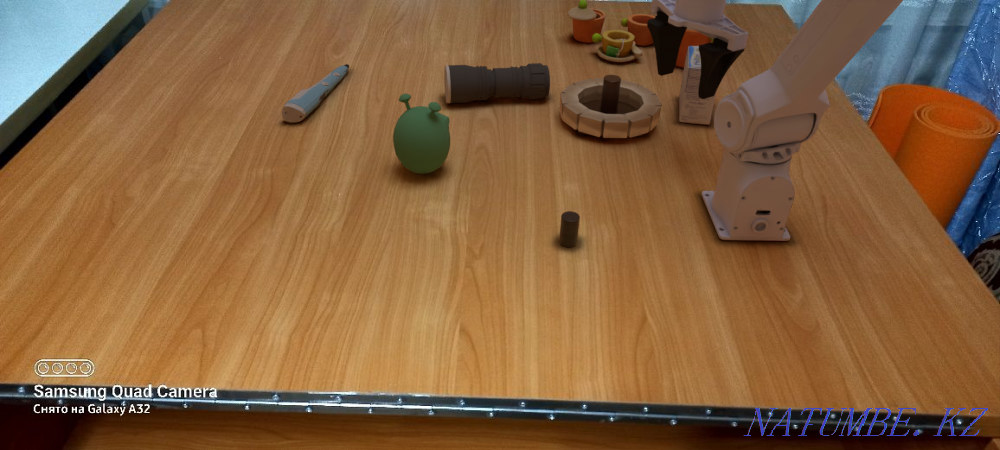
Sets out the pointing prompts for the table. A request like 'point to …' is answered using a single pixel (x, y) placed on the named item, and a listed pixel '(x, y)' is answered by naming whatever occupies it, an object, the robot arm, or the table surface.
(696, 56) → the medicine box
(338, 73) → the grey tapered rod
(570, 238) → the low peg
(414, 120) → the alien toy
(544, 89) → the flashlight
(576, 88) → the ring
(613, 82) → the stand
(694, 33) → the toy tea set
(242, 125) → the table surface
